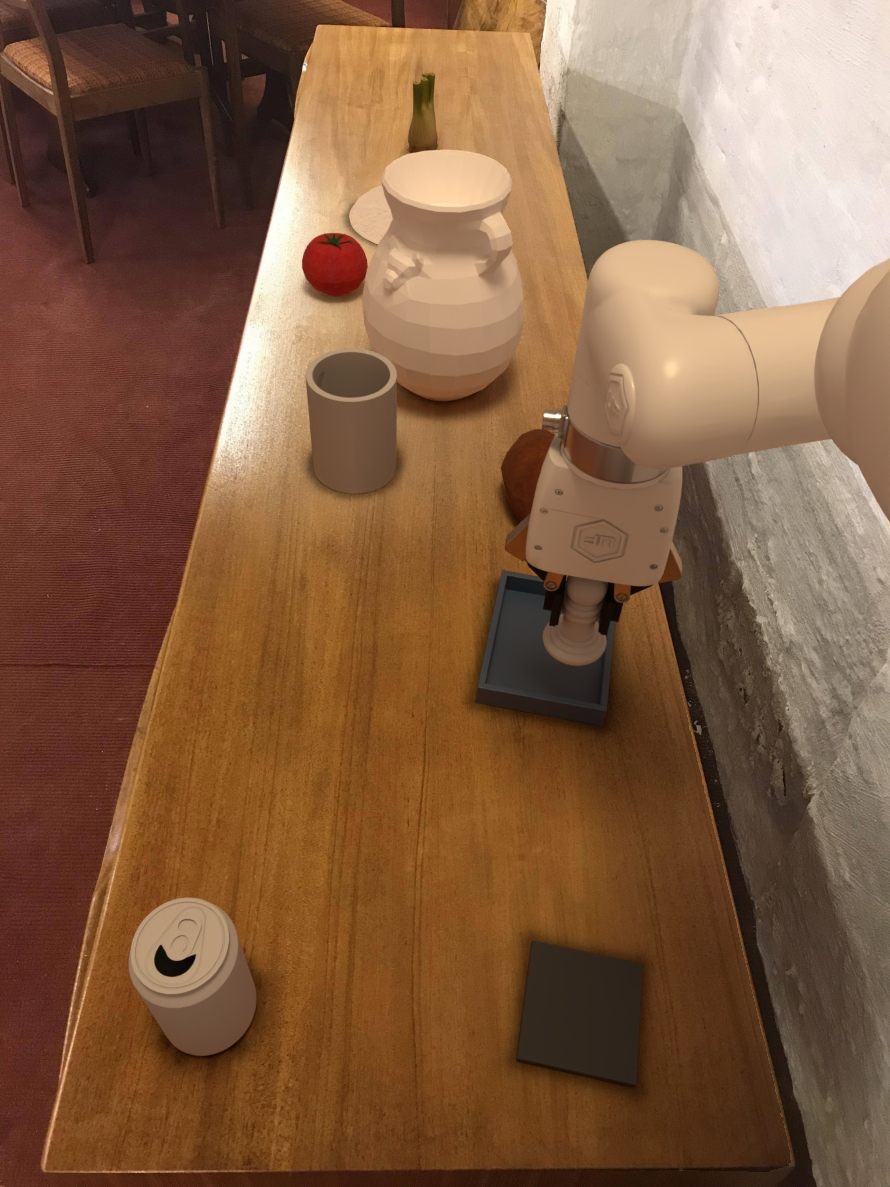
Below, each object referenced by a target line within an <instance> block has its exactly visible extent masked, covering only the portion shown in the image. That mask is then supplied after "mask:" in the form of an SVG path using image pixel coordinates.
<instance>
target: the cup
mask: <svg viewBox="0 0 890 1187" xmlns="http://www.w3.org/2000/svg"><path fill="white" fill-rule="evenodd" d="M305 385H306V397H307V408H308V420H309V422H308V423H309V431H310V432H309V433H310V444H311V456H312V467H313V473H314V476H315V477H316V478H317V480H318V481H319V482H320V483H321V484H322V485H323V486H325V487H327V488H328V489H330V490H333V491H334V492H338V493H342V494H353V495H354V494H355V495H357V494H366V493H367V494H368V493H369V492H374V491H377V490H379V489H381V488H383V487H384V486H386V485H388V484H389V482H391V480H393V478H394V476H395V474H396V471H397V455H398V454H397V446H398V445H397V444H398V443H397V439H398V438H397V435H398V434H397V432H398V431H397V430H398V429H397V428H398V427H397V426H398V425H397V424H398V423H397V422H398V420H397V419H398V418H397V417H398V416H397V415H398V414H397V413H398V411H397V410H398V409H397V408H398V407H397V406H398V405H397V404H398V402H397V400H398V398H397V397H398V396H397V395H398V382H397V373H396V369H395V367H394V365H393V364H392V363H391V361H390V360H388V359H387V358H386V357H384V356H382V355H380V354H378V353H376V352H373V350H369V349H364V348H352V347H350V348H338V349H333V350H330V351H328V352H325V353H323V354H320V355H319V356H317V357H316V358H314V359H313V360H312V361H311V362H310V363H309V365H307V368H306V370H305Z"/></svg>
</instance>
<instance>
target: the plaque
mask: <svg viewBox="0 0 890 1187" xmlns="http://www.w3.org/2000/svg"><path fill="white" fill-rule="evenodd" d="M348 218H349V222H350V225H351V227H352V229H353V230H354V231H355V232H356V233H357V234H358V235H359V236H360V237H362V238H363V239H365V240H367V241H369V242H371V243H372V244H373V243H374V244H376V245H378V244H379V242H380V241H381V239H382V238H383V236H384V235H385V233H386V232H387V230H388V228H389V226H390V224H391V221H392V219H393V218H392V213H391V210H390V207H389V205H388V203H387V200H386V198H385V195H384V191H383V187H382V184H380V185H378V186H375V187H374V188H371V189H369V190H367V192H364V193H362V195H361V196H359V197H358V198H357V200H355V202H354V204H353V206H352V207H351V209H350V210H349V215H348Z"/></svg>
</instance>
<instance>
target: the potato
mask: <svg viewBox="0 0 890 1187" xmlns="http://www.w3.org/2000/svg"><path fill="white" fill-rule="evenodd" d="M552 432H553V431H551V430H546V429H542V428H533V429H531V430H529V431H528V430H527V431H525V432H524V433H522V434H521V435H519V437H518V438H517V439H515V442H514V443H513V444H512V445H511V447H510V448H509V449H508V451H507V452H506V453H505V456H504V458H503V460H502V463H501V467H500V471H501V477H502V482H503V483H502V484H503V486H504V491H505V495H506V497H507V500H508V502H509V505H510V508H511V510H512V512H513V513H514V514H515V515H516V517H517V518H518V520H519V521H520V523H521V522H522V521H523V520H524V519H525V518H526V517H527V516H528V515H529V514H530V513H531V510H532V505H533V500H534V496H535V491H536V487H537V483H538V480H539V476H540V473H541V469H542V466H543V463H544V460H545V457H546V454H547V452H548V450H549V447H550V445H551V443H552V440H553V438H554V437H555V435H556V433H552Z"/></svg>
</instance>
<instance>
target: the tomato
mask: <svg viewBox="0 0 890 1187" xmlns="http://www.w3.org/2000/svg"><path fill="white" fill-rule="evenodd" d="M368 264H369V263H368V258H367V255H366V252H365V250H364V248H363V247H362V245H361V244H360V243H359V242H358V241H357V239H355V238H354V237H353V236H351V235H349V234H347V233H342V232H327V233H325V232H323V233H322V234H320V235H317V236H315V237H313V239H312V240H311V241H310V242H309V243H308V244H307V245H306V247H305V249H304V251H303V253H302V257H301V269H302V273H303V275H304V277H305V278H304V279H305V280H306V281H307V282H308V283H309V285H310V286H311V287H312V289H314V290H315V291H318V292H320V293H321V294H323V295H326V296H330V297H341V296H345V295H349V294H351V293H352V292H355V291H356V290H357V289H359V287H360V286H361V285H362V284H363V282H364V281H365V276H366V274H367V271H368V268H369V265H368Z"/></svg>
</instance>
